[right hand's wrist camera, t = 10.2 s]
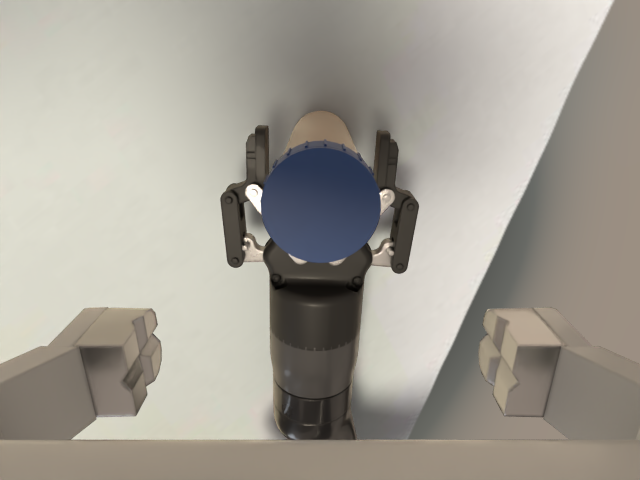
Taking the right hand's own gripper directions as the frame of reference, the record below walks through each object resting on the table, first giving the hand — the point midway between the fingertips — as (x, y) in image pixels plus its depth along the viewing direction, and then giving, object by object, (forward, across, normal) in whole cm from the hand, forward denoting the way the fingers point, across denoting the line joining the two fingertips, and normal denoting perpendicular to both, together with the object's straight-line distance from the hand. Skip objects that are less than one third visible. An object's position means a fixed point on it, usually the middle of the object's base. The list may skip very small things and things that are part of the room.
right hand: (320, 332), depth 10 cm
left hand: (+22, 0, -2) cm, 22 cm away
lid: (+10, 0, 0) cm, 10 cm away
